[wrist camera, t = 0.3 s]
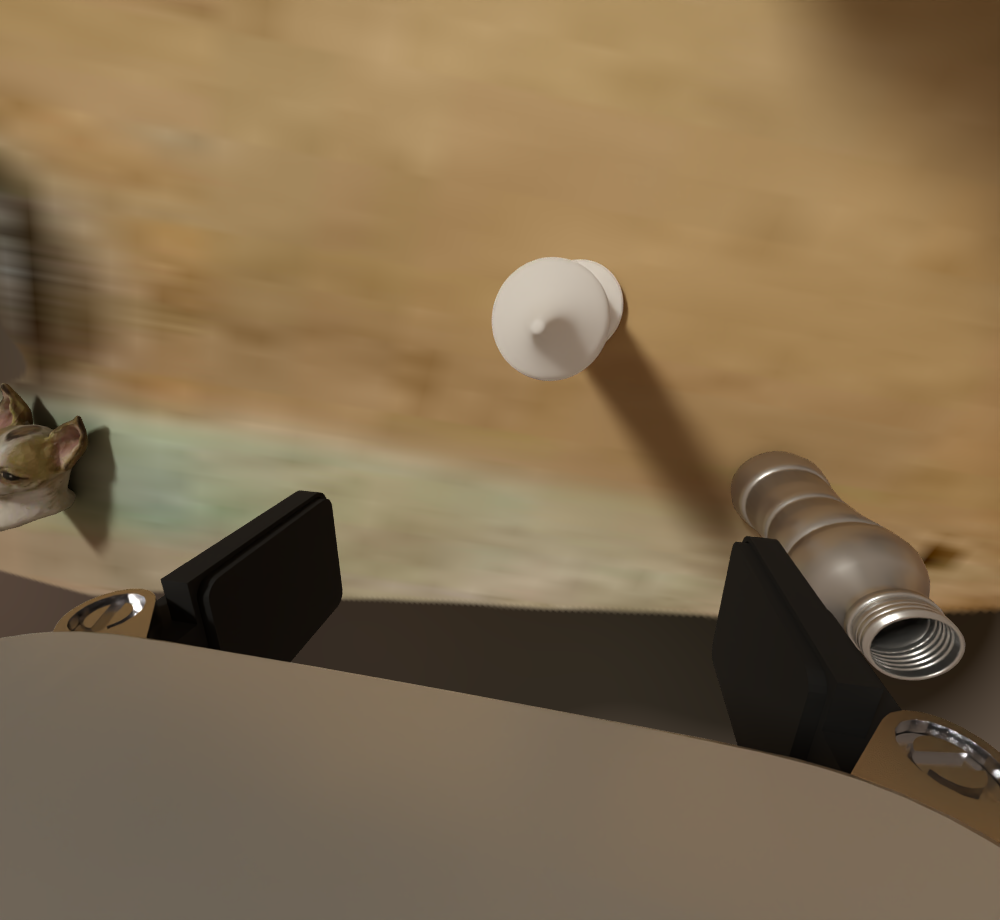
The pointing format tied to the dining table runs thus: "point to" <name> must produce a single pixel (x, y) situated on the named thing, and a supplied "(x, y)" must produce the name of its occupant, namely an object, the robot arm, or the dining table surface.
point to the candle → (556, 316)
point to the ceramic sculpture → (35, 463)
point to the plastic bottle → (850, 566)
